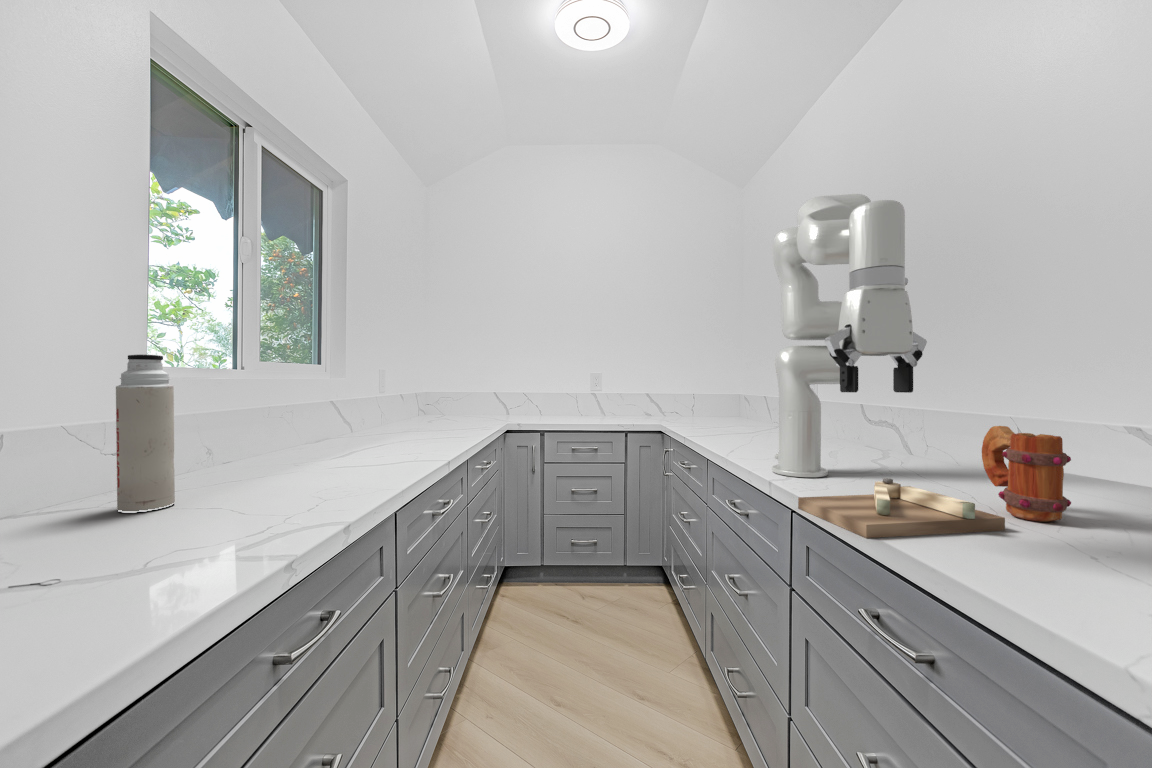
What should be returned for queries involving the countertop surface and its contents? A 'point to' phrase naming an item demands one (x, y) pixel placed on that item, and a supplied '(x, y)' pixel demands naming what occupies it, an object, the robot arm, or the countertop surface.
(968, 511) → the tongs fixed
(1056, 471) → the mug
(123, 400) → the thermos bottle
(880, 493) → the tong arm
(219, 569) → the countertop surface
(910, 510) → the board
